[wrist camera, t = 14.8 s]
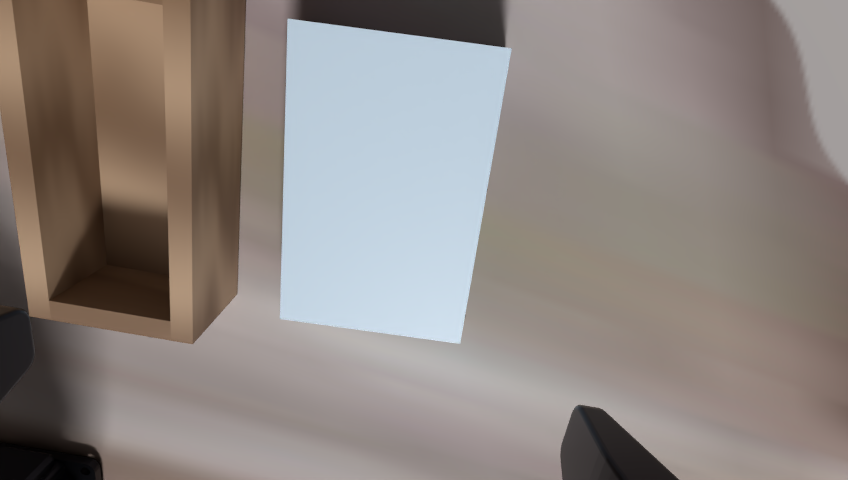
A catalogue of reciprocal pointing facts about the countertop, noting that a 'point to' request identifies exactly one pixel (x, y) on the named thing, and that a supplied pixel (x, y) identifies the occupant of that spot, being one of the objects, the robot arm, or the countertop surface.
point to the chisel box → (125, 158)
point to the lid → (385, 177)
